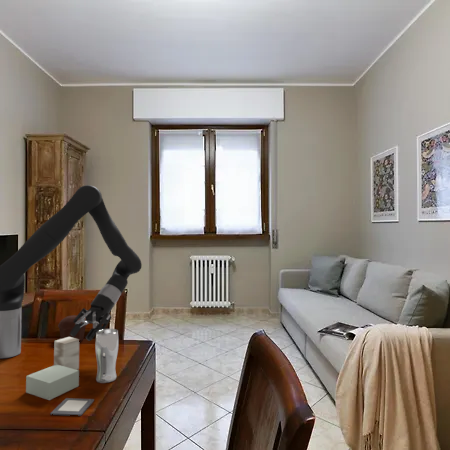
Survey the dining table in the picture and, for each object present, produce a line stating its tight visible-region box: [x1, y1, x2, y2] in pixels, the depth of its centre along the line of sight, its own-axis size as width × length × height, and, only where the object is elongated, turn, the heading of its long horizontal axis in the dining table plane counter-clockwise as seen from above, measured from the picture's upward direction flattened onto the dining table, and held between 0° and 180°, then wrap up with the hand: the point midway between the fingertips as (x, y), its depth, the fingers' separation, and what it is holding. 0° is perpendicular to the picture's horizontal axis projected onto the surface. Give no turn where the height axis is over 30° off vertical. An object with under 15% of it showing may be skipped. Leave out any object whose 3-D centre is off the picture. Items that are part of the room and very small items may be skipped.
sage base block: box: [25, 364, 80, 401], centre depth 104 cm, size 10×10×5 cm
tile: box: [49, 397, 95, 417], centre depth 94 cm, size 8×8×1 cm
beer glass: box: [94, 328, 119, 384], centre depth 112 cm, size 7×7×15 cm
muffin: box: [57, 315, 87, 341], centre depth 150 cm, size 12×11×10 cm
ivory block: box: [53, 337, 80, 370], centre depth 118 cm, size 6×6×10 cm
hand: (79, 337), depth 123 cm, fingers open, 8 cm apart
